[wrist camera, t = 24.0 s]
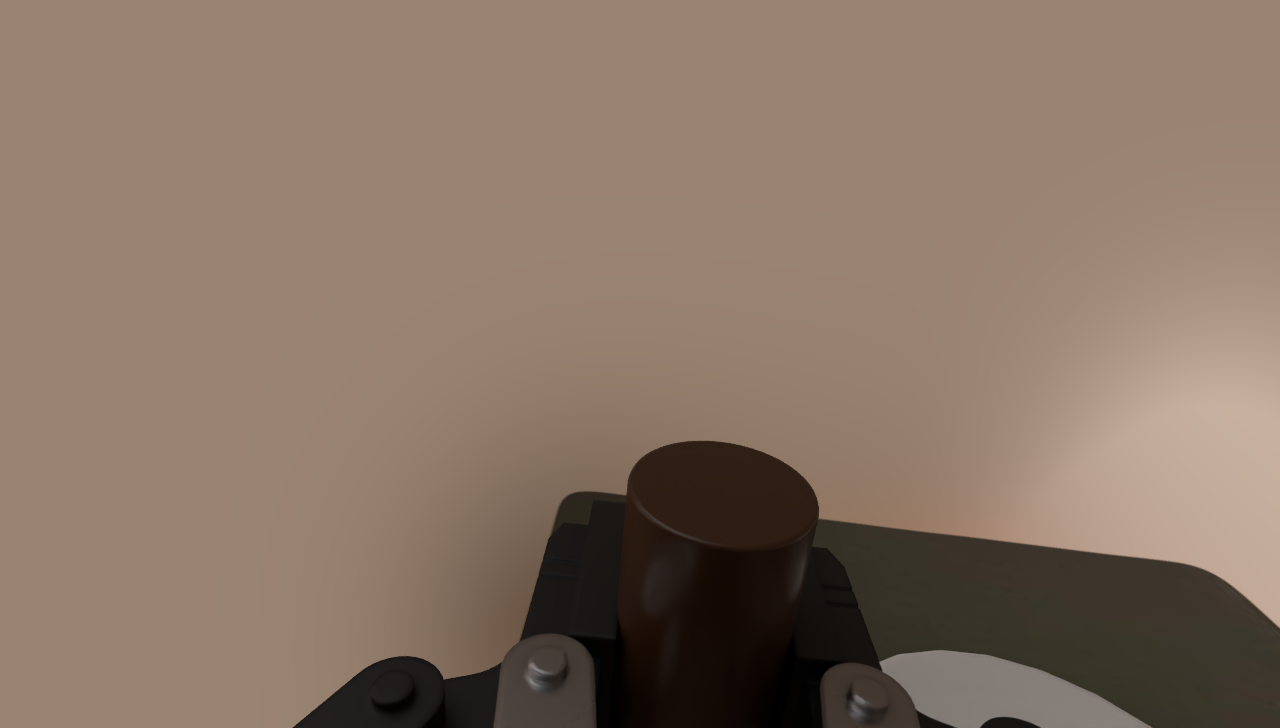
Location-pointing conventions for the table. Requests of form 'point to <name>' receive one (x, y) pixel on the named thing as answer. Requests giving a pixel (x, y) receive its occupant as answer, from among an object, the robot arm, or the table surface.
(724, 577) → the knife
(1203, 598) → the table surface
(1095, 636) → the table surface
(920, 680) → the plate
